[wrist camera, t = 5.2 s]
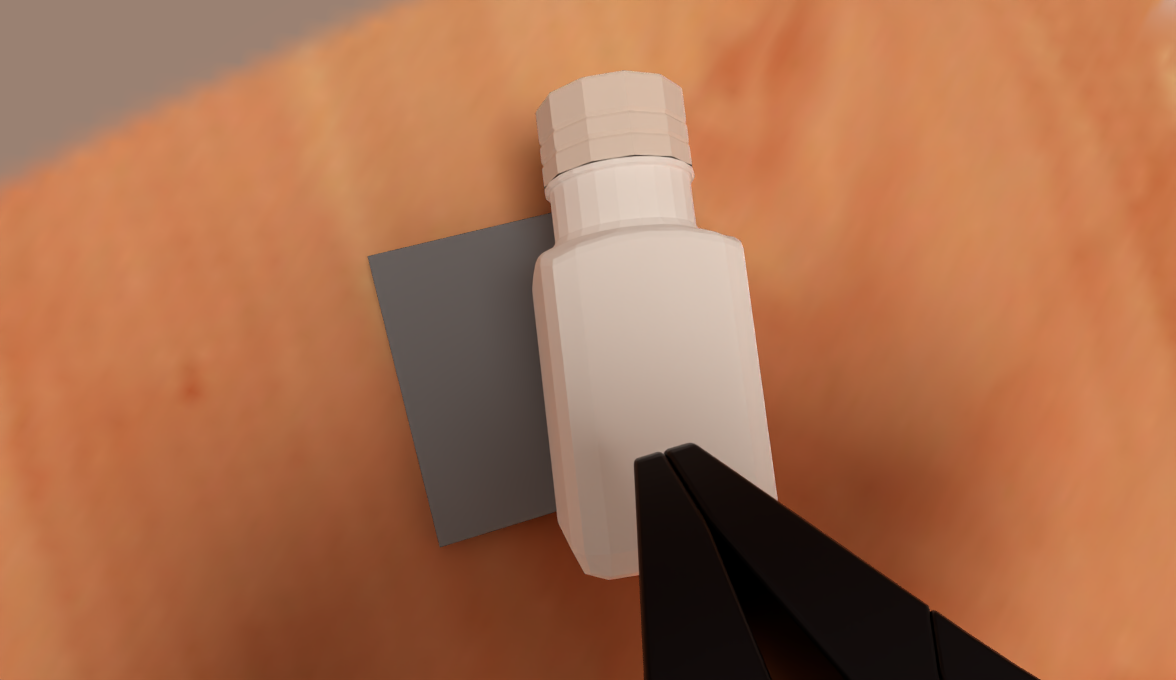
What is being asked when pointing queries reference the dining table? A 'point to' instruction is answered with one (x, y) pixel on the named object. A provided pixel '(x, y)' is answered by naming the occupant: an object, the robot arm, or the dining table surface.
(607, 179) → the pepper shaker
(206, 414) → the dining table surface
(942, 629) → the robot arm
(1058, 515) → the dining table surface
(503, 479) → the coaster
